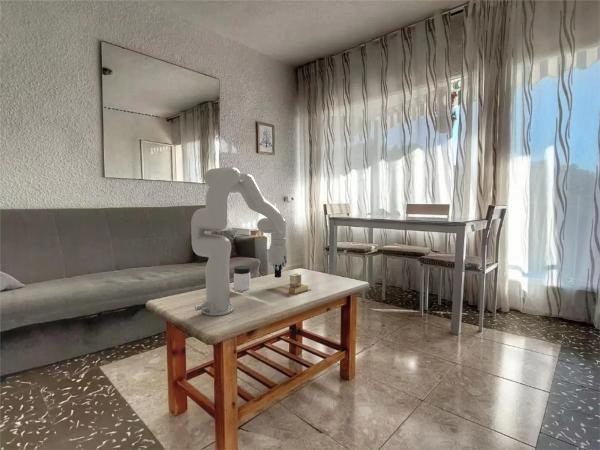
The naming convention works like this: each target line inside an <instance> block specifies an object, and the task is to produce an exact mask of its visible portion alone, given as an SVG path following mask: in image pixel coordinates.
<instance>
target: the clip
mask: <svg viewBox="0 0 600 450" xmlns="http://www.w3.org/2000/svg"><path fill="white" fill-rule="evenodd" d="M308 289H309V285H307V284H303V283H301V286H300V287H296V288H294V287H289V293H292V294H297V293H301V292H304V291H308ZM308 292H309V291H308Z"/></svg>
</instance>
